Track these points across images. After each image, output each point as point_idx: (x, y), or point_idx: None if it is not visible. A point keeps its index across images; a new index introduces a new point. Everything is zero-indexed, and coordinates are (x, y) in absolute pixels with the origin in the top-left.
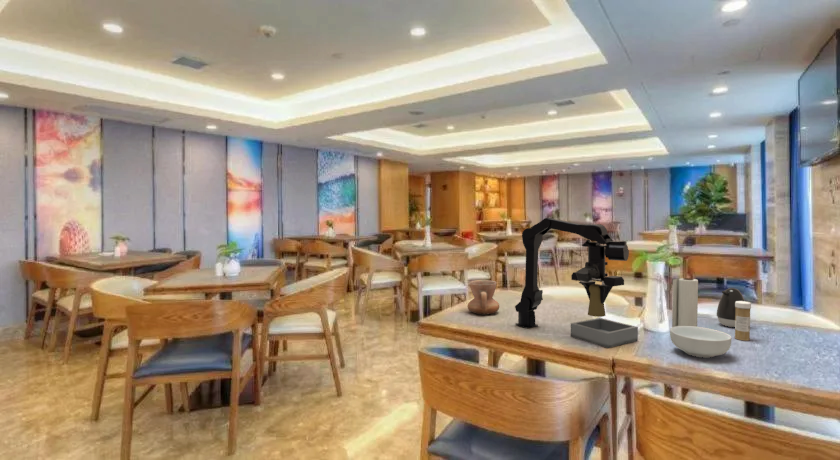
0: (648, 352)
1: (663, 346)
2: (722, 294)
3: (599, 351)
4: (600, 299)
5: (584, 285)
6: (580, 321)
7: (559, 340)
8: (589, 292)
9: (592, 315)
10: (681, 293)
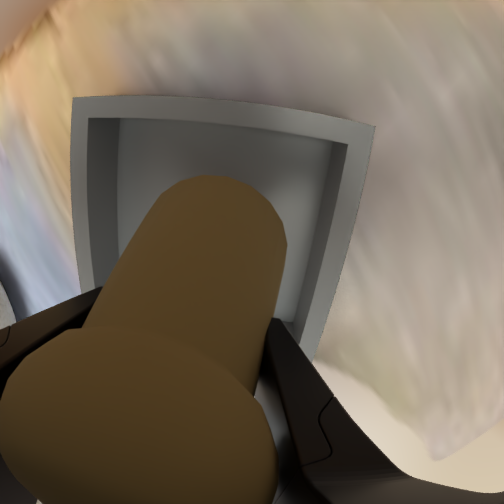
0: (20, 190)
1: (44, 292)
2: None
3: (114, 30)
4: (88, 306)
5: (390, 494)
6: (352, 223)
7: (349, 21)
8: (275, 400)
9: (202, 176)
10: (38, 501)
